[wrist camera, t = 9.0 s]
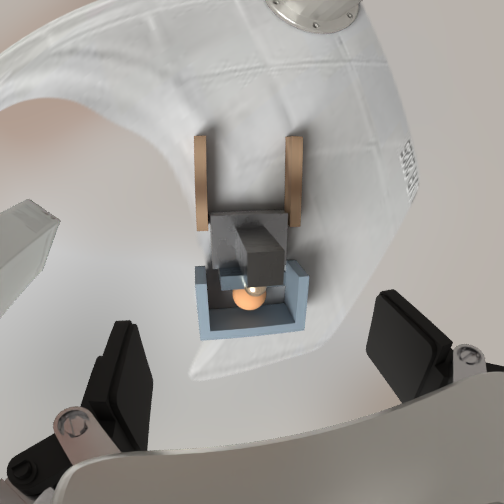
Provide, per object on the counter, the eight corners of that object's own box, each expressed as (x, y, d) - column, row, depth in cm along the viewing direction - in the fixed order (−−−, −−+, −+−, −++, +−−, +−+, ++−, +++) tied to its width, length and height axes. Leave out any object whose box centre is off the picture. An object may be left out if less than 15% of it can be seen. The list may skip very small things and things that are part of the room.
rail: (194, 137, 31) (194, 136, 28) (295, 137, 33) (302, 136, 30) (196, 225, 34) (196, 231, 32) (293, 221, 36) (300, 226, 34)
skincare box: (29, 197, 29) (-46, 230, 15) (64, 221, 31) (-2, 267, 17) (11, 252, 30) (-53, 303, 17) (44, 275, 32) (-13, 337, 19)
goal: (195, 266, 36) (195, 284, 31) (295, 260, 38) (309, 276, 33) (199, 318, 38) (200, 340, 33) (292, 309, 40) (304, 330, 35)
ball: (234, 318, 35) (230, 292, 38) (267, 315, 36) (261, 289, 39) (235, 297, 33) (231, 270, 36) (271, 294, 33) (264, 268, 36)
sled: (209, 212, 33) (214, 238, 24) (283, 209, 35) (314, 233, 25) (212, 277, 36) (219, 322, 27) (280, 272, 37) (307, 313, 28)
